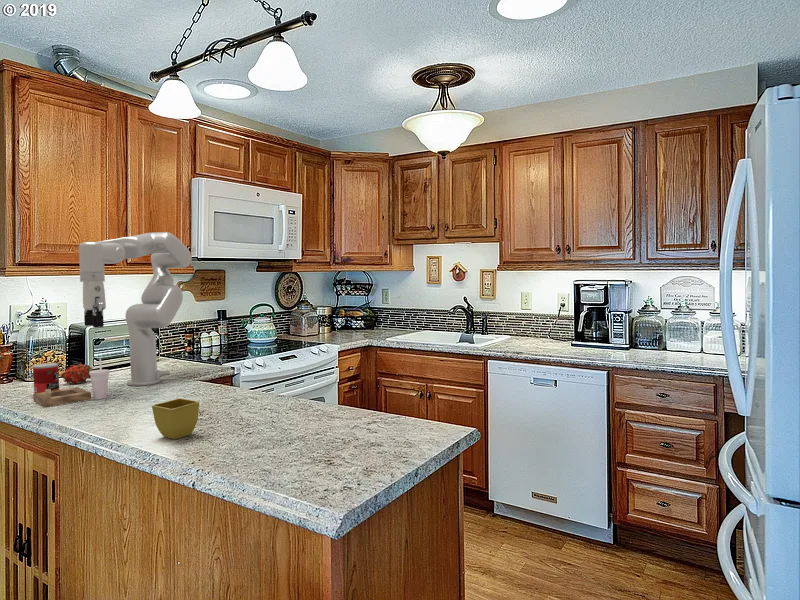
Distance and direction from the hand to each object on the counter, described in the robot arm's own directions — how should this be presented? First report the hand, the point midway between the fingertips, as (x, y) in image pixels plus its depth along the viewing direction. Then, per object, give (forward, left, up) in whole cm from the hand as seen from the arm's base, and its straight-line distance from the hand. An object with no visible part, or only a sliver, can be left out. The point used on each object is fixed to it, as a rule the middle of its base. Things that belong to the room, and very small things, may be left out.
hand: (94, 326), depth 191 cm
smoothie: (-1, +1, -26) cm, 26 cm away
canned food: (+10, -21, -26) cm, 35 cm away
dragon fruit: (-4, -35, -26) cm, 44 cm away
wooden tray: (+9, -6, -25) cm, 28 cm away
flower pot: (+1, +66, -26) cm, 71 cm away
